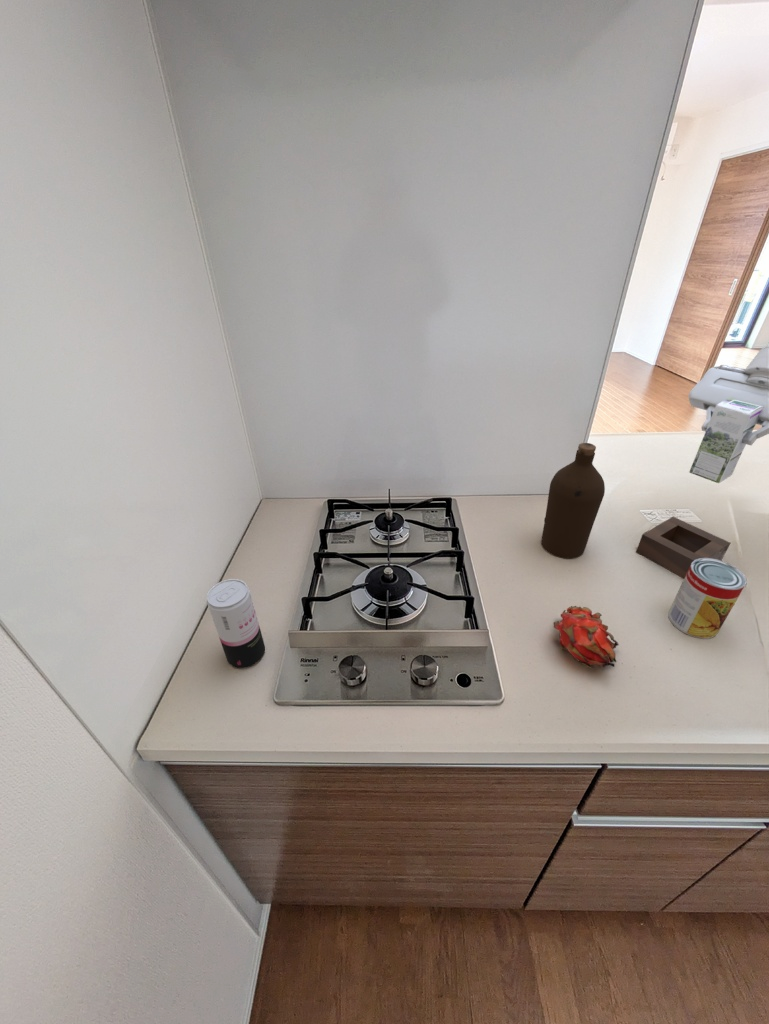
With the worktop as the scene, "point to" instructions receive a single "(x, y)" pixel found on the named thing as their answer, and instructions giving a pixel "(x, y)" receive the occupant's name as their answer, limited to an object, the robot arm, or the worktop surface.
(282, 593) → the worktop surface
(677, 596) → the canned food
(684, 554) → the holder
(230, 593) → the beverage can
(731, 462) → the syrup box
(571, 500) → the olive oil
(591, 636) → the dragon fruit
